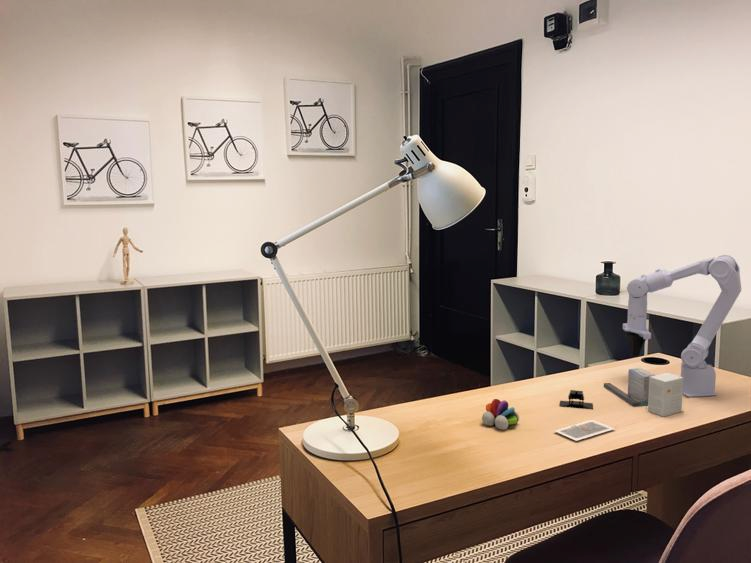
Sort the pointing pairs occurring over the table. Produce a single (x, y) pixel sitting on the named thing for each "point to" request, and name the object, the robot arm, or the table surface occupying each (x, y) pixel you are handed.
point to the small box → (665, 394)
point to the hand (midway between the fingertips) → (635, 355)
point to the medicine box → (639, 383)
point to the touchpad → (584, 430)
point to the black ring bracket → (576, 404)
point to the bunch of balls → (499, 414)
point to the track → (625, 396)
